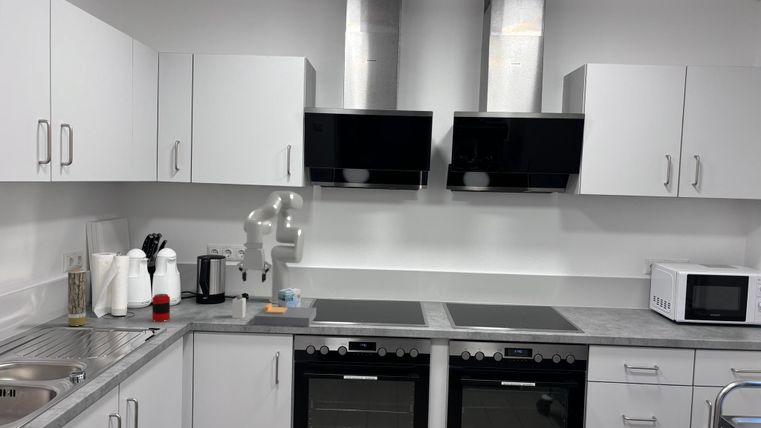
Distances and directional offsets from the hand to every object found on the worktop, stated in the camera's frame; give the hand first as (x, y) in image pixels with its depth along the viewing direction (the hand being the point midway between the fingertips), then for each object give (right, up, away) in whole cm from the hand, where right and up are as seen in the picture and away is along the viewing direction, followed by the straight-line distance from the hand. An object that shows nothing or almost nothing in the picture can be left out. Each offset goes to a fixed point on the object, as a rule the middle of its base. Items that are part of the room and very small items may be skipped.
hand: (254, 281), depth 252 cm
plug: (-8, -18, +3) cm, 20 cm away
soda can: (-43, -18, -6) cm, 47 cm away
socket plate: (+16, -19, 0) cm, 24 cm away
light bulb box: (+14, -18, +20) cm, 30 cm away
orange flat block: (+11, -15, 0) cm, 18 cm away
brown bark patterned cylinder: (-75, -18, -19) cm, 80 cm away
